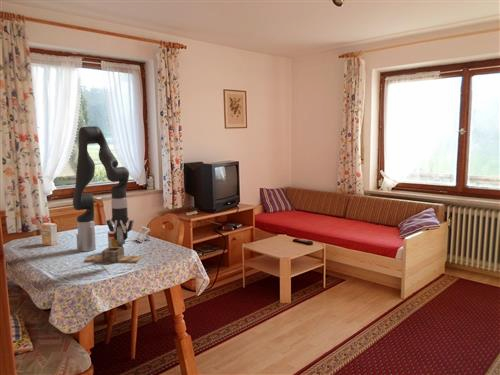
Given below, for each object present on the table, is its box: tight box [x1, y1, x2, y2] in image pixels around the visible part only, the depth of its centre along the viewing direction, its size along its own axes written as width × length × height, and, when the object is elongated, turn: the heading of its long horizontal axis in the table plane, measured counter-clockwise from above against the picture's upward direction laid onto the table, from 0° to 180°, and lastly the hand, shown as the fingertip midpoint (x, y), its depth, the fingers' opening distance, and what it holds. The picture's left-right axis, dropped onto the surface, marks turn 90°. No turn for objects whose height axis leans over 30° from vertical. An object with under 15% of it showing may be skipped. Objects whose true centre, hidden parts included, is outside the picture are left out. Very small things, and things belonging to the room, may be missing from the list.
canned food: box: [107, 230, 124, 248], centre depth 223 cm, size 8×8×12 cm
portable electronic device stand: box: [134, 226, 151, 243], centre depth 248 cm, size 9×8×8 cm
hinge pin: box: [116, 226, 126, 246], centre depth 199 cm, size 4×4×9 cm
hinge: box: [84, 246, 143, 264], centre depth 209 cm, size 28×8×6 cm, turn 86°
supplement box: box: [40, 222, 59, 247], centre depth 241 cm, size 8×5×13 cm, turn 68°
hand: (120, 239), depth 199 cm, fingers closed on hinge pin, 4 cm apart
